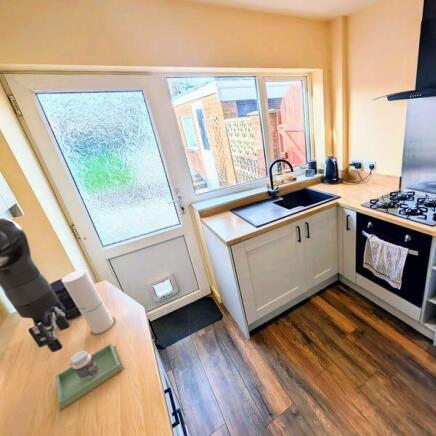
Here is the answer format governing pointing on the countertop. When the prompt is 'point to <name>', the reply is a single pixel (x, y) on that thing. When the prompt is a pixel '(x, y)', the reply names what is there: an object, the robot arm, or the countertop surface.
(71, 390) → the tray
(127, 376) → the countertop surface
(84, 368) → the pill bottle
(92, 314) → the cylindrical container
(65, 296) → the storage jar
